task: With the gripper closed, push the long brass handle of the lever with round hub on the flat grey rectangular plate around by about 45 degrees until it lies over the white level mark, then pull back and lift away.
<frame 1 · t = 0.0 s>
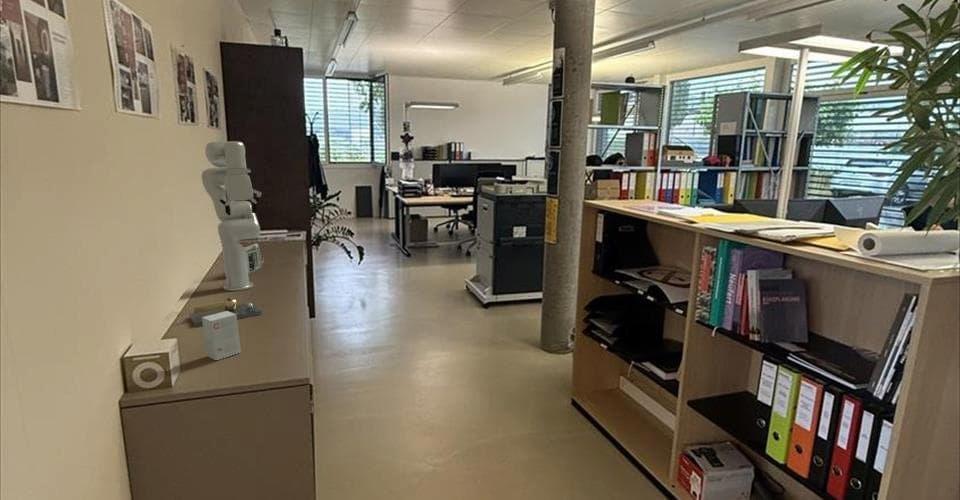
hand: (241, 214, 219), 37 cm above the table, tool pointing down, fingers open, 9 cm apart
flat grey rectangular plate: (225, 315, 204), on the table
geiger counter: (250, 272, 276), on the table
lever with round hub: (215, 306, 204), point 4 cm above the table, hinge at 0.0°
small box: (224, 355, 166), on the table
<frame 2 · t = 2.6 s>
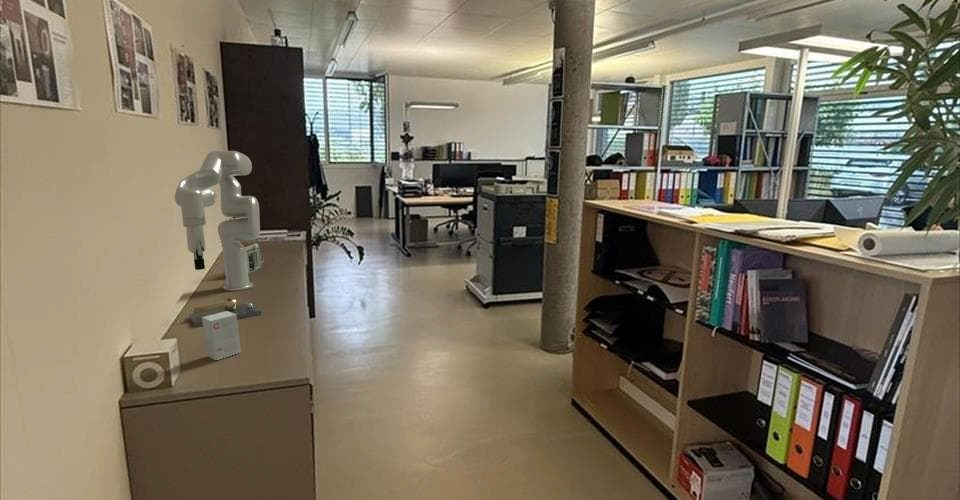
hand: (200, 269, 204), 18 cm above the table, tool pointing down, fingers closed
nothing on the table moved.
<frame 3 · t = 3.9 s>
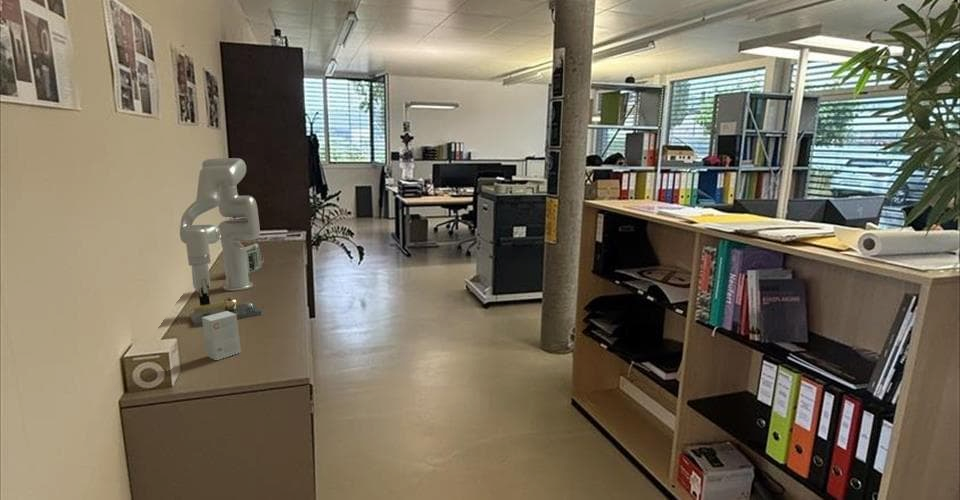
hand: (205, 305, 207), 3 cm above the table, tool pointing down, fingers closed
nothing on the table moved.
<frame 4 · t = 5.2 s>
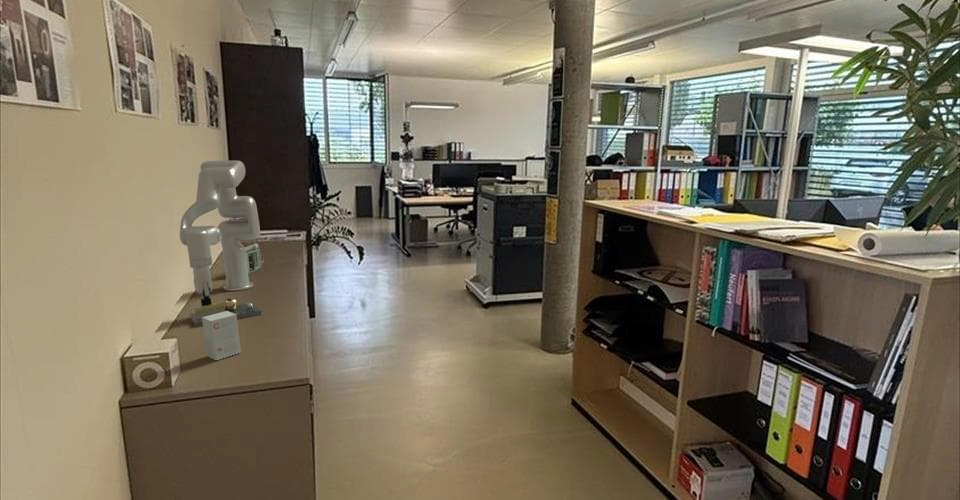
hand: (207, 308, 204), 3 cm above the table, tool pointing down, fingers closed
lever with round hub: (215, 306, 203), point 4 cm above the table, hinge at 6.6°, touching gripper
everything else where it was.
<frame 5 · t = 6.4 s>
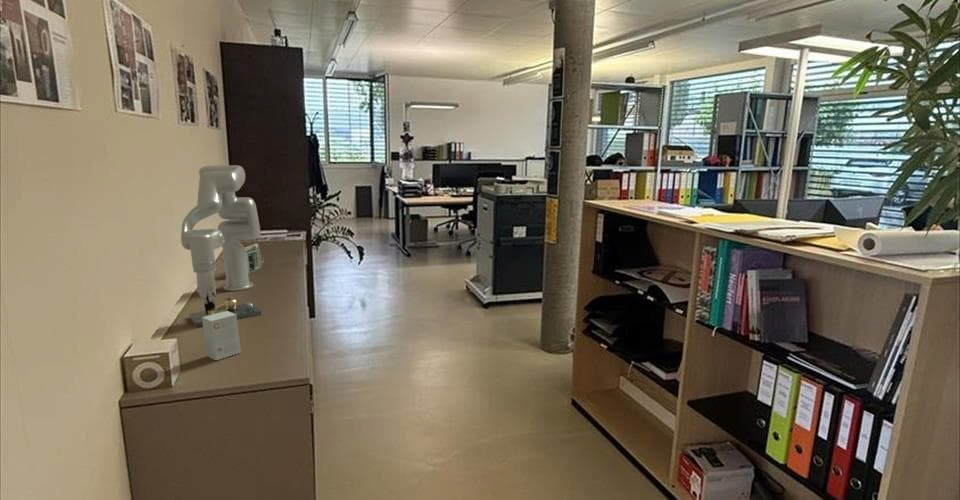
hand: (210, 313, 199), 3 cm above the table, tool pointing down, fingers closed
lever with round hub: (222, 308, 201), point 4 cm above the table, hinge at 46.9°, touching gripper
everything else where it was.
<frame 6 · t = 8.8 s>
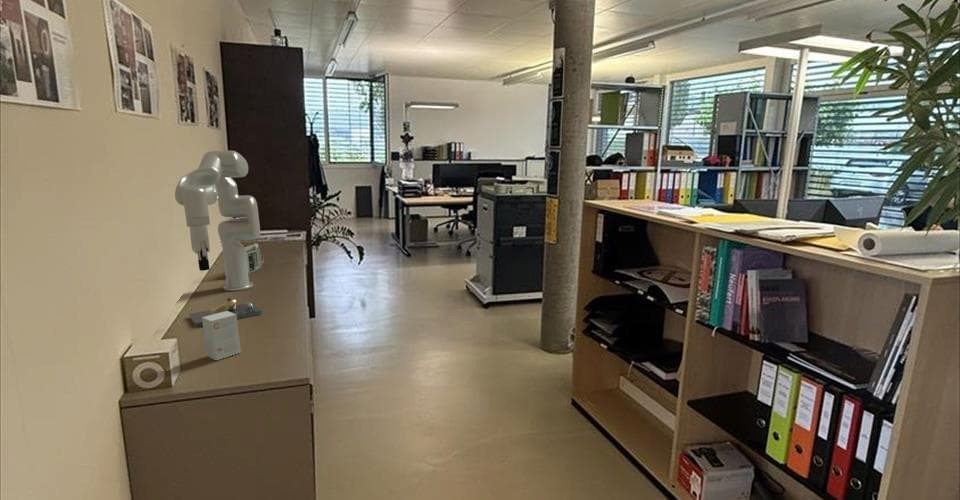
hand: (204, 269, 197), 19 cm above the table, tool pointing down, fingers closed
lever with round hub: (223, 308, 201), point 4 cm above the table, hinge at 51.9°
everything else where it was.
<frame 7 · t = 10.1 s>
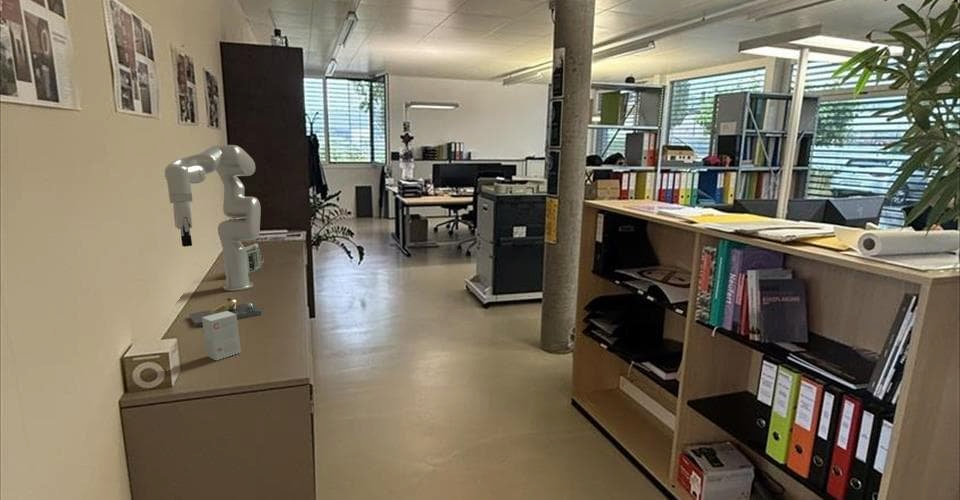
hand: (187, 245, 204), 27 cm above the table, tool pointing down, fingers closed
nothing on the table moved.
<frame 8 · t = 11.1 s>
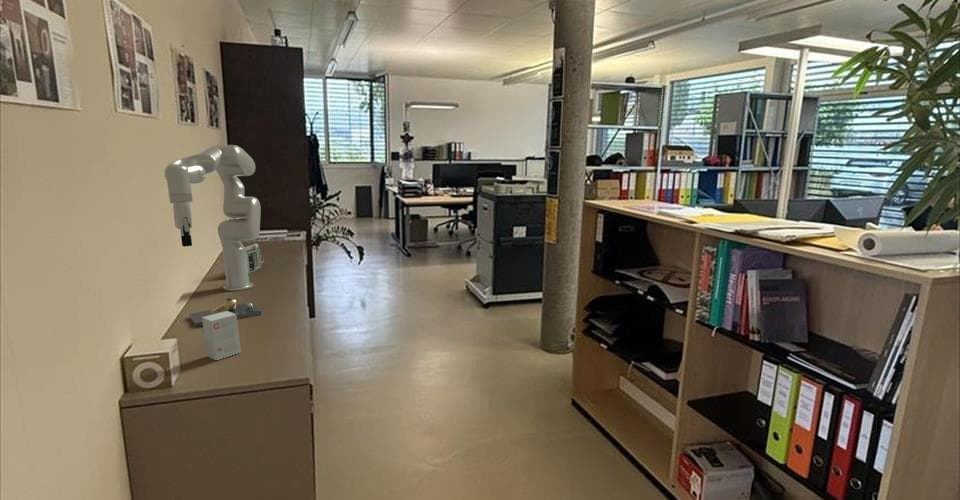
hand: (187, 245, 204), 27 cm above the table, tool pointing down, fingers closed
nothing on the table moved.
at the end: lever with round hub at +52° (first picture: +0°) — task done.
